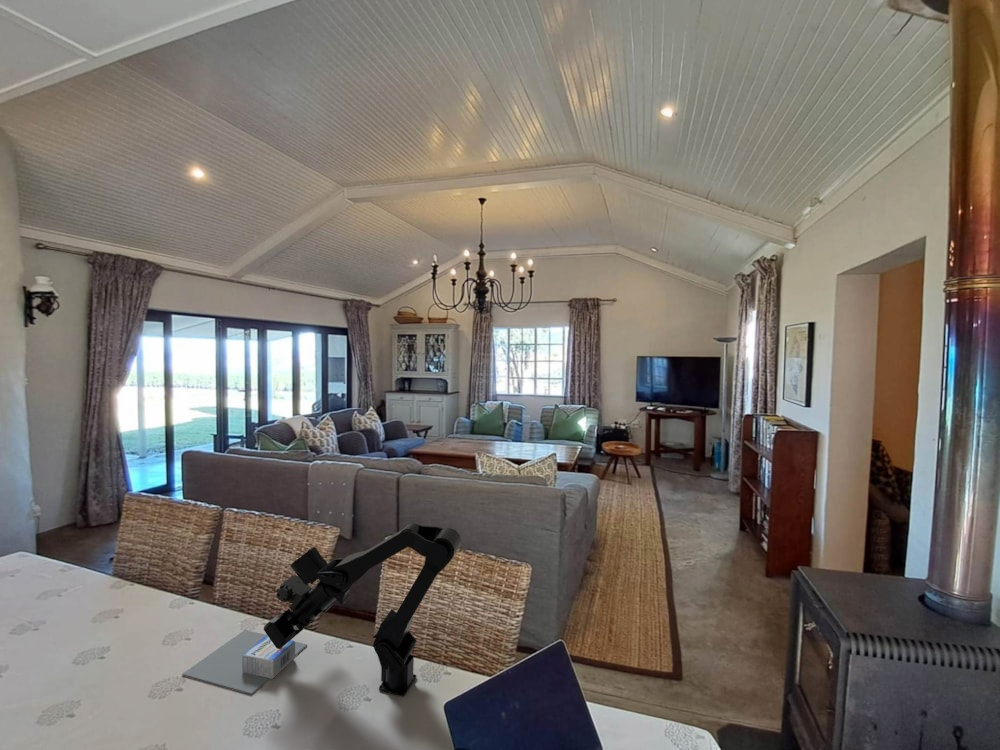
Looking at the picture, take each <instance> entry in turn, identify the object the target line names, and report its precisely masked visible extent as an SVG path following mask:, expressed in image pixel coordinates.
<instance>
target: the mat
mask: <svg viewBox="0 0 1000 750" xmlns="http://www.w3.org/2000/svg"><path fill="white" fill-rule="evenodd" d="M265 636H268V635H267V634H266V633H261V632H257V631H252V630H247V629H244V630H242V631H241V632H240V633H238V634H237V635H236V636H234V637H232V638H231V639H230V640H228V641H227V642H225V643H224V644H223V645H221V646H219V647H218V648H217V649H216V650H214V651H213V652H211V653H210V654H208V655H206V657H204V658H203V659H201V660H200V661H198V662H197V663H196V664H194V665H193V666H192V667H190V668H188V669H187V670H186V671H183V672H182V674H181V676H182V677H186V678H190V679H193V680H197V681H201V682H204V683H207V684H211V685H214V686H218V687H222V688H224V687H225V688H224V689H228V688H229V690H232V689H233V690H232V691H235V690H236V692H240V693H242V694H246V695H249V696H252V695H254V694H255V693H256V692H257V691H258V690H260V688H262V687H263V686H264V685H265V684H266V683H267V682H268V681H269V680H271V678H267V677H262V676H257V675H252V674H247V673H243V672H242V657H243V654H244V653H246V652H247V651H248V650H249V649H250V648H252V647H253V646H254V645H255V644H257V643H258V642H259V641H260V640H261V639H263V638H264V637H265ZM307 646H308V644H307V643H303V642H299V641H295V657H297V655H299V654H301V652H302V651H303V650H304V649H305V648H307Z"/></svg>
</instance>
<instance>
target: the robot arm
mask: <svg viewBox="0 0 1000 750" xmlns="http://www.w3.org/2000/svg"><path fill="white" fill-rule="evenodd" d="M461 544H462V539H461V535H460V534H459V532H458V531H457V530H455V529H454V528H451V527H450V528H449V527H446V528H443V527H439V526H436V525H435V526H433V525H432V526H431V525H421V524H417V523H408V524H407V525H406V526H405V527H404V528H402V529H401V530H398V531H397V532H395V533H393V535H391V536H389V537H388V538H386V539H384V540H382V541H380V542H379V543H378V544H376V545H373V546H372V547H371V548H369V549H367V550H364V551H358V552H356V553H352V554H350V555H349V554H348V556H346V557H344V558H342V557H341V558H333V559H331V560H330V561H329V562H327V560H326V559H324V557H323V556H322V555H321V554H320V552H319V550H318V549H317V548H316V547H315V546H312V547H311V548H310V549H309V550H307V551H306V552H305V553H303V554H302V555H301V556H300V557H298V558H297V559H296V560H295V559H294V561H293V562H292V563H291V564H290V566H289V567H290V568H291V569H292V571H293V572H294V573H295V575H292V576H290V577H289V578H287V579H286V580H285V581H283V582H282V584H281V585H279V587H278V588H277V589H276V592H277V593H276V596H275V597H276V598H277V599H278V600H279V601H281V602H282V603H283V604H284V603H286V602H288V603H290V605H289V606H288V609H286V610H285V611H284V612H282V613H279V614H277V615H276V616H275V617H273V618H272V619H271V620H269V621H268V622H267V623H266V624H264V626H263V631H264V632H265V635H268V637H269V638H270V640H271V641H272V643H273V644H274V645H275V647H276V648H277V649H281V648H282V647H283V646H284V645H286V644H287V643H288V642H289V641H290V640H292V639H294V638H295V637H296V636H297V635H299V634H300V632H302V631H303V630H304V628H306V627H308V626H310V624H312V623H313V622H314V621H315V619H316V618H318V617H319V616H320V615H321V614H322V613H325V612H327V611H328V610H329V609H330V608H332V606H334V605H335V601H337V602H338V604H340V605H344V603H345V602H346V601H347V600H348V599H349V598H350V597H351V591H350V588H351V586H353V585H354V584H356V582H357V581H358V580H360V579H361V577H363V576H364V575H365V574H366V573H367V572H368V571H369V570H370V569H373V568H374V567H376V566H378V565H379V564H381V563H382V562H385V561H386V560H389V559H390V558H392V557H393V556H395V555H396V554H398V553H400V552H401V551H403V550H405V549H407V548H408V549H412V550H414V551H415V552H416V553H418V554H419V555H420V556H422V557H425V558H424V561H423V566H422V569H421V570H420V572H419V574H418V575H417V577H416V579H415V581H414V582H413V584H412V586H410V589H409V590H408V592H407V594H406V596H405V597H404V599H403V601H402V603H401V604H400V606H399V608H398V610H397V611H395V610H394V609H393V608H391V609H390V610H389V612H388V613H387V615H386V616H385V618H383V620H382V622H381V623H380V625H379V627H378V629H377V631H376V632H375V634H373V637H372V638H373V639H374V640H373V644H372V647H373V649H374V651H375V653H376V655H377V658H378V660H379V665H380V667H381V668H380V671H381V673H380V681H381V684H380V685H379V687H378V690H379V691H381V692H385V693H389V694H394V695H397V696H401V697H404V696H405V695H406V694H407V692H408V691H409V690H410V688H411V686H412V685H413V684H414V682H415V680H417V675H416V674H414V664H415V663H414V657H415V656H414V655H412V654H411V653H412V651H413V650H414V649H415V646H416V644H417V641H418V640H417V638H415V636H414V635H413V634H412V633H411V631H410V628H411V626H412V620H413V617H414V615H415V614H416V612H417V610H418V608H419V607H420V605H421V603H422V602H423V600H424V598H425V596H426V594H427V593H428V592H429V589H430V588H431V587H432V584H433V583H434V581H435V580H436V577H438V575H439V574H440V573H442V571H443V570H444V569H445V568H446V567H447V566H448V565H449V563H451V561H452V559H454V557H455V555H456V553H457V552H458V549H460V547H461ZM317 580H318V582H317ZM315 582H317V583H316V584H315V585H313V584H314V583H315ZM309 584H311V585H313V586H310V585H309Z"/></svg>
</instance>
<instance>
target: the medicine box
mask: <svg viewBox="0 0 1000 750" xmlns="http://www.w3.org/2000/svg"><path fill="white" fill-rule="evenodd" d="M295 642H296V641H295V640H292V639H291V640H290V641H289V642H288V643H287V644H286V645H284V646H283V647H282V648H281V649H277V648H276V647H275V645H274V644H273V643H272V641H271V640H270V638H269V637H268V636H265V637H264V638H263V639H261V640H260V641H259V642H258V643H257V644H255V645H254V646H253V647H252V648H250V649H249V650H248V651H247V652H246V653H244V654H243V657H242V672H243V673H247V674H252V675H257V676H262V677H267V678H270V679H274V678H275V677H276V676H277V675H278V674H279V673H280V672H282V671H283V669H284V668H286V666H288V665H289V664H290V662H292V661H293V660H294V659H295V658H296V656H295Z"/></svg>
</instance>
